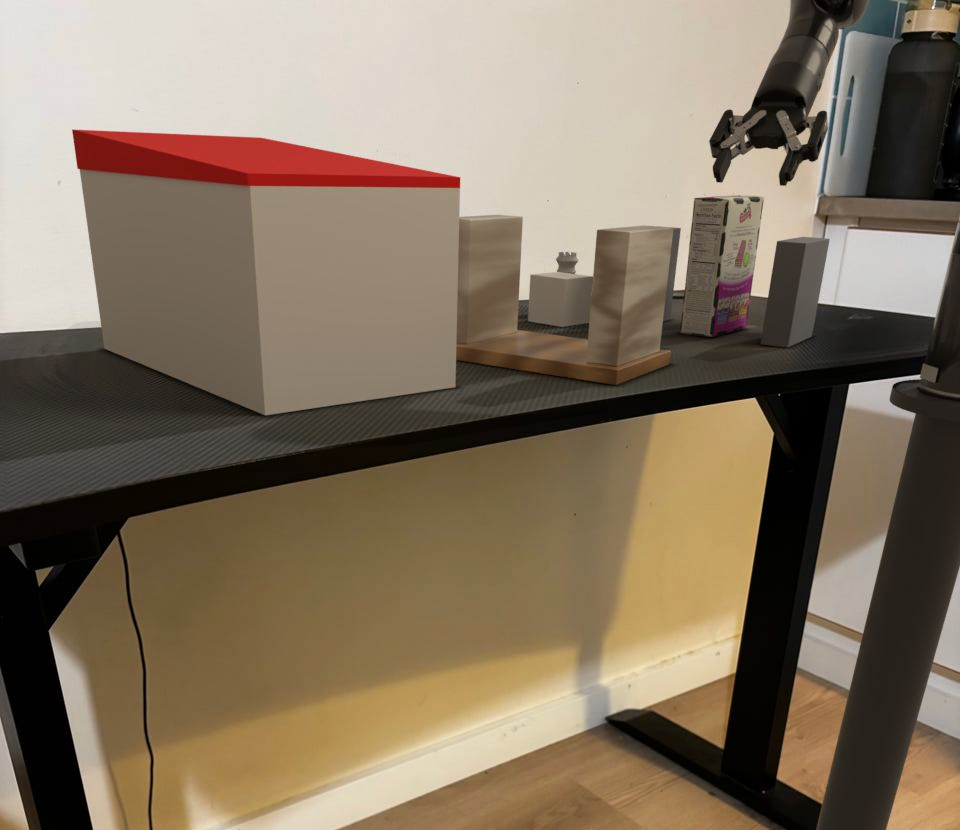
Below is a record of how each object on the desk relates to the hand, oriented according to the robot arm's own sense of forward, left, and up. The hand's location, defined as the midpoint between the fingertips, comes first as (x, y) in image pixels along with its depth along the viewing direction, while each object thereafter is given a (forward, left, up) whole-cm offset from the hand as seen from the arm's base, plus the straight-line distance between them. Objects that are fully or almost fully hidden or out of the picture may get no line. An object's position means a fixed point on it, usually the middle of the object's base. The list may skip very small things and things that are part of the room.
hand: (749, 179), depth 125 cm
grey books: (0, +6, -18) cm, 19 cm away
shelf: (+7, +39, -18) cm, 44 cm away
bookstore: (+27, +62, -18) cm, 70 cm away
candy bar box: (0, +6, -19) cm, 19 cm away
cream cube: (+19, +14, -19) cm, 30 cm away
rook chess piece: (+23, +5, -19) cm, 30 cm away
